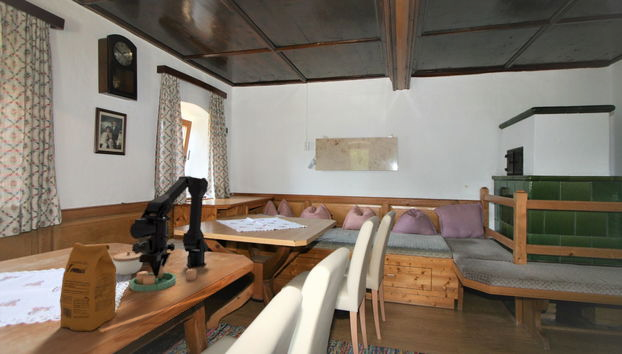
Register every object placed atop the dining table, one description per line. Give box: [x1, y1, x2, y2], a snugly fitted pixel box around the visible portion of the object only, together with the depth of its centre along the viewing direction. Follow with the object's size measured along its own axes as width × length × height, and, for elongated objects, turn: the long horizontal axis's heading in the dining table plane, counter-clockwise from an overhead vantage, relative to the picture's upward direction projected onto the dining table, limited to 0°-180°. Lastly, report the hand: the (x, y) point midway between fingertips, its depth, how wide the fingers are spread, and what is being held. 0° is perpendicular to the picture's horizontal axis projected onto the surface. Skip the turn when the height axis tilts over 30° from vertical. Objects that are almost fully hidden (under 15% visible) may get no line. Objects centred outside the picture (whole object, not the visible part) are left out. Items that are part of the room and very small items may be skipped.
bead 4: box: [185, 268, 197, 281], centre depth 119 cm, size 4×4×4 cm
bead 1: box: [136, 270, 149, 285], centre depth 112 cm, size 4×4×4 cm
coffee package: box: [59, 241, 117, 332], centre depth 85 cm, size 10×12×22 cm
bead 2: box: [143, 275, 155, 285], centre depth 109 cm, size 4×4×4 cm
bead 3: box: [153, 265, 164, 279], centre depth 117 cm, size 4×4×4 cm
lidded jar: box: [112, 250, 144, 276], centre depth 125 cm, size 11×11×9 cm
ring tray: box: [129, 271, 177, 293], centre depth 113 cm, size 15×15×3 cm
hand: (158, 274), depth 117 cm, fingers closed on bead 3, 3 cm apart
